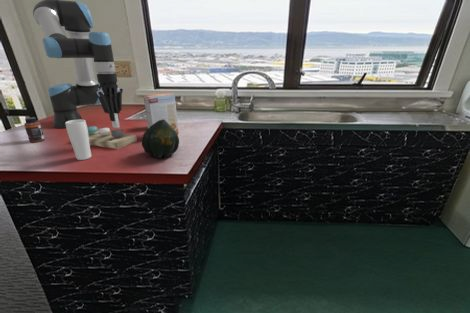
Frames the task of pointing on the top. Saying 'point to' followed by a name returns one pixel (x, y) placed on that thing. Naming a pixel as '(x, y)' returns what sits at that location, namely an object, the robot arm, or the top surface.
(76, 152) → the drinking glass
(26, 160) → the top surface
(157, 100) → the cracker box
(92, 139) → the button panel
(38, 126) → the supplement bottle
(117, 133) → the grey button
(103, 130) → the white button
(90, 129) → the teal button
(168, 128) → the squash
